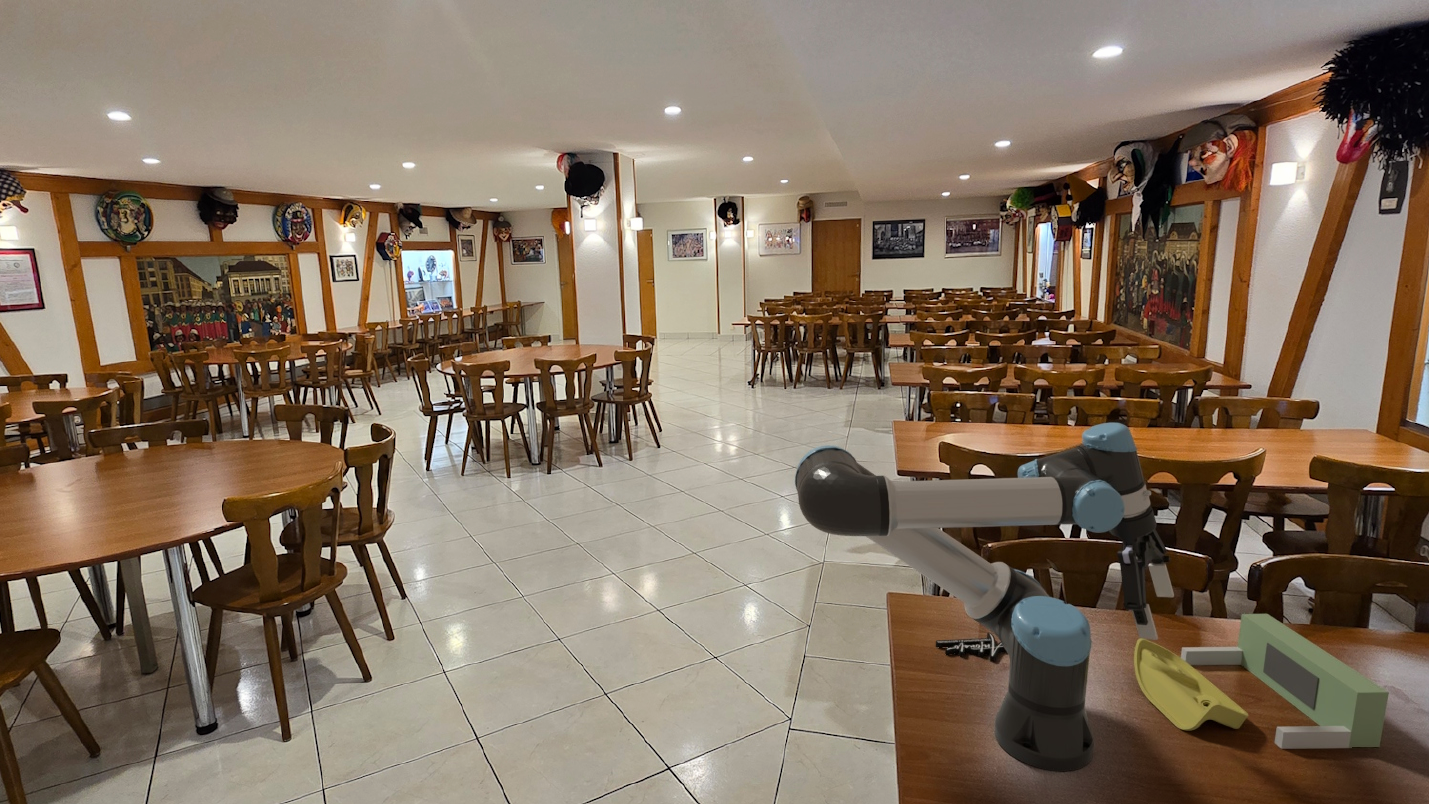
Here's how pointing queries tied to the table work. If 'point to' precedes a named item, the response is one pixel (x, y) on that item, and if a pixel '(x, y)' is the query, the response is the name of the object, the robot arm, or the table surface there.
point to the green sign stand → (1304, 684)
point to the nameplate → (973, 647)
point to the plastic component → (1182, 689)
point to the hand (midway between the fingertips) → (1157, 616)
